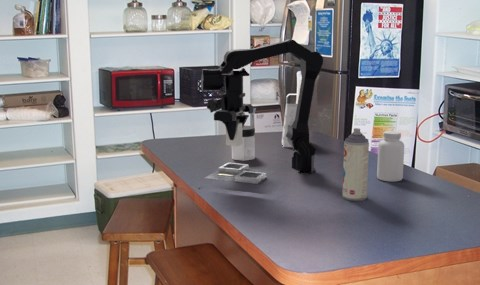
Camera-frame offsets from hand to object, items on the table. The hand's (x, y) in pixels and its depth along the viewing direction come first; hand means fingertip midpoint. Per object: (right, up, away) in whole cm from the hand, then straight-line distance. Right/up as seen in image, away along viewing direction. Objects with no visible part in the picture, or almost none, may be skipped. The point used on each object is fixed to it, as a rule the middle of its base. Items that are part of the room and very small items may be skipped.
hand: (234, 138), depth 201 cm
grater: (+24, -2, +47) cm, 53 cm away
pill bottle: (+49, -13, -3) cm, 51 cm away
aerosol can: (+34, -17, -23) cm, 45 cm away
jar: (+3, -8, +21) cm, 22 cm away
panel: (+2, -13, -2) cm, 13 cm away
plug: (0, -2, 0) cm, 2 cm away
